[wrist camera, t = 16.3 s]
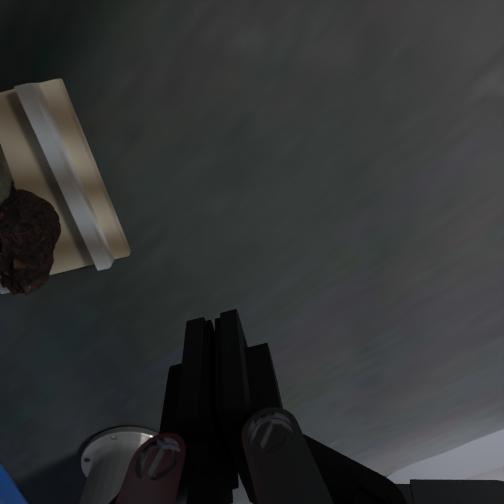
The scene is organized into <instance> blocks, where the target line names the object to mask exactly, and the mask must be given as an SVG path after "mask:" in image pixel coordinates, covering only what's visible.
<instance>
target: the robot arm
mask: <svg viewBox="0 0 504 504" xmlns="http://www.w3.org/2000/svg"><path fill="white" fill-rule="evenodd" d="M81 468H82V471H83V473H84V474H85V476H86V477H87V481H86V484H85V487H84V490H83V493H82V496H81V499H80V503H79V504H231V503H233V493H232V489H236V488H238V486H239V483H238V473H239V476H240V478H241V481H242V484H243V486H244V487H245V490H246V493H247V495H248V498H249V501H250V502H251V503H253V504H504V481H499V480H416V479H412V480H410V484H394V483H393V482H391V481H390V480H389V479H387V478H386V477H384V476H382V475H381V474H379V473H377V472H375V471H373V470H371V469H369V468H367V467H365V466H363V465H362V464H360V463H358V462H356V461H354V460H352V459H350V458H348V457H346V456H344V455H342V454H341V453H339V452H337V451H335V450H333V449H331V448H329V447H327V446H325V445H323V444H321V443H320V442H318V441H316V440H314V439H312V438H310V437H308V436H306V435H304V434H303V433H302V431H301V429H300V426H299V424H298V422H297V420H296V419H295V417H294V416H293V414H291V413H290V412H288V411H287V410H285V409H283V407H282V402H281V397H280V393H279V388H278V383H277V379H276V375H275V370H274V366H273V362H272V358H271V354H270V350H269V347H268V343H264V344H260V345H256V346H252V347H248V346H247V343H246V339H245V336H244V332H243V329H242V325H241V322H240V318H239V315H238V312H237V309H235V310H231V311H227V312H223V313H220V318H216V319H215V331H214V327H213V324H212V322H211V320H208V321H205V319H204V317H202V318H198V319H194V320H189V321H187V323H186V331H185V340H184V349H183V359H182V363H181V364H177V365H173V366H171V367H170V368H169V373H168V379H167V386H166V392H165V399H164V405H163V412H162V418H161V425H160V432H159V434H158V433H156V432H154V431H152V430H149V429H145V428H141V427H131V426H128V427H118V428H113V429H109V430H106V431H104V432H102V433H100V434H98V435H96V436H95V437H94V438H92V439H91V440H90V441H89V442H88V444H87V445H86V447H85V449H84V451H83V454H82V457H81Z"/></svg>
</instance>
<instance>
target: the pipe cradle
mask: <svg viewBox="0 0 504 504" xmlns="http://www.w3.org/2000/svg"><path fill="white" fill-rule="evenodd" d="M14 88H15V89H13V90H9V91H5V92H1V93H0V144H1V146H2V149H3V152H4V155H5V158H6V161H7V164H8V166H9V169H10V172H11V174H12V177H13V180H14V182H15V185H14V186H15V188H17V189H23V190H26V191H29V192H33V193H34V194H35V195H37V196H38V197H41V198H43V199H45V200H47V201H48V202H50V203H51V204H52V206H53V207H54V209H55V211H56V212H57V214H58V215H59V218H60V221H59V222H60V224H61V234H60V237H59V239H58V241H57V243H56V244H55V249H54V251H53V253H54V254H53V257H54V263H53V265H52V268H51V271H50V274H49V275H51V274H56V273H60V272H64V271H68V270H72V269H76V268H80V267H84V266H89V265H93V264H95V266H96V268H97V270H98V271H99V270H103V269H107V268H110V266H111V265H112V263H113V261H114V259H118V258H122V257H126V256H129V254H130V252H131V250H130V248H129V245H128V243H127V240H126V238H125V235H124V233H123V230H122V228H121V225H120V223H119V220H118V218H117V215H116V213H115V210H114V208H113V205H112V203H111V200H110V198H109V195H108V193H107V190H106V188H105V185H104V183H103V180H102V178H101V175H100V173H99V170H98V168H97V165H96V163H95V160H94V158H93V155H92V153H91V150H90V148H89V145H88V143H87V140H86V138H85V135H84V133H83V130H82V128H81V125H80V123H79V120H78V118H77V115H76V113H75V110H74V108H73V105H72V103H71V100H70V98H69V95H68V93H67V90H66V88H65V85H64V83H63V80H62V79H54V80H50V81H46V82H42V83H27V84H23V85H19V86H15V87H14ZM0 278H1V276H0ZM0 292H1V294H4V293H8V292H10V291H9V290H8V289H7V288H6V287H5V288H3V287H2V285H1V283H0Z"/></svg>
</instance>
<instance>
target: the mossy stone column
mask: <svg viewBox="0 0 504 504" xmlns="http://www.w3.org/2000/svg"><path fill="white" fill-rule="evenodd" d="M14 185H15V182H14V180H13V177H12V174H11V172H10V169H9V166H8V164H7V161H6V158H5V155H4V152H3V149H2V146H1V144H0V276H1V278H0V283H1V285H2V287H3V288H5V287H6V288H7V289H8V290H9V291H10V292H11V293H12V295H15V294H18V293H20V294H22V293H25V295H28V294H30V293H32V292H33V291H34V290H36V289H39V288H40V286H42V285H44V284H45V283H46V282H47V281H48V279H49V274H50V271H51V268H52V265H53V263H54V257H53V254H54V253H53V251H54V249H55V244H56V243H57V241H58V239H59V237H60V234H61V224H60V222H59V221H60V218H59V215H58V214H57V212H56V211H55V209H54V207H53V206H52V204H51V203H50V202H48V201H47V200H45V199H43V198H41V197H38V196H37V195H35V194H34V193H33V192H29V191H26V190H23V189H17V188H15V186H14Z"/></svg>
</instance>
